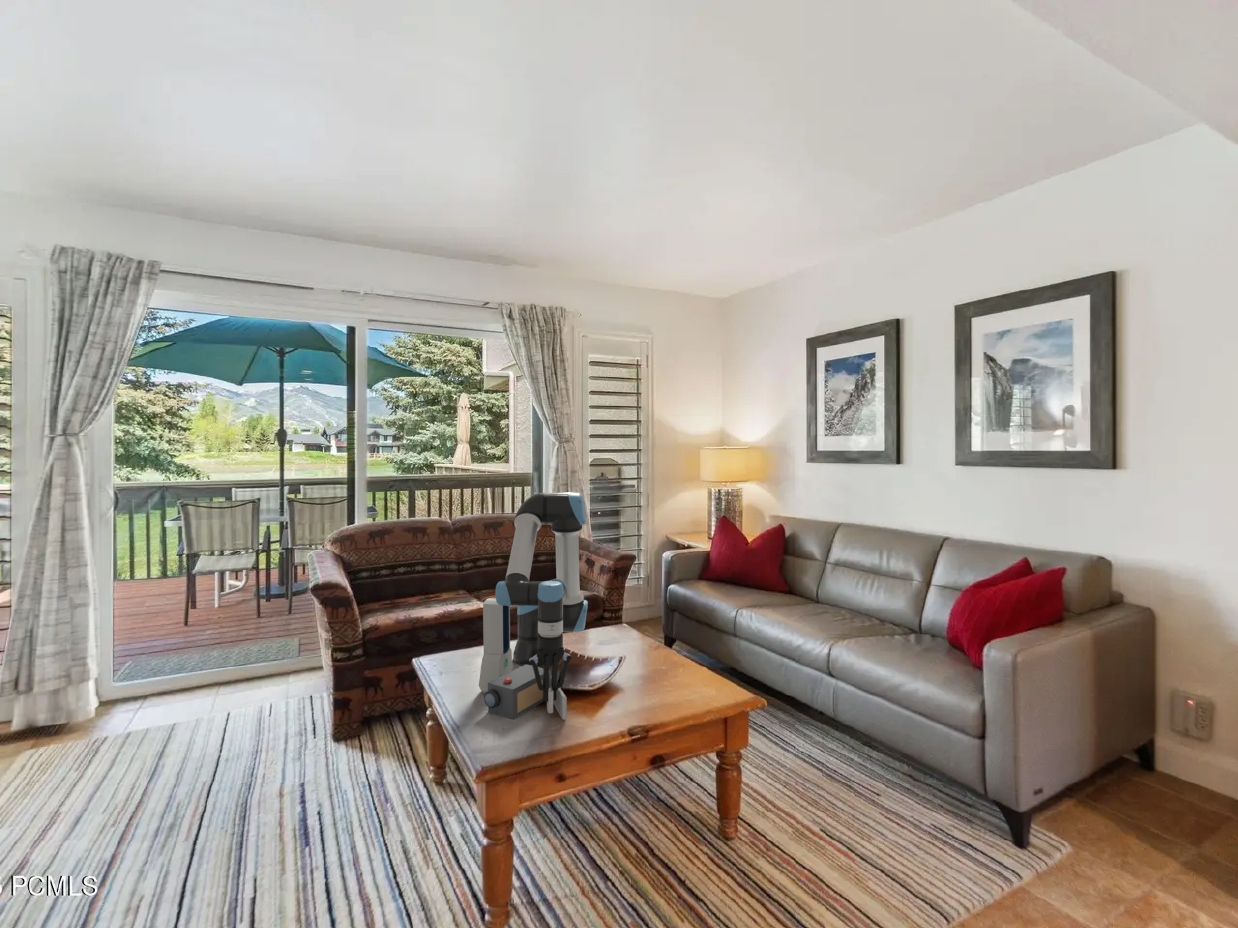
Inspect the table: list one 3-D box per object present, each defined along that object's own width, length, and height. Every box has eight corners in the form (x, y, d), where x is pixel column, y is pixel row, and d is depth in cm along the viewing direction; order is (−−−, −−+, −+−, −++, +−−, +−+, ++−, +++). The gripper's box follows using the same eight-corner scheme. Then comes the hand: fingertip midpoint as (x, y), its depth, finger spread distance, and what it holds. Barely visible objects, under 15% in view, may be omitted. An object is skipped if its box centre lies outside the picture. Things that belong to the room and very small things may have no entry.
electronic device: (499, 696, 198) (498, 604, 197) (478, 694, 199) (476, 603, 198) (513, 681, 210) (512, 595, 209) (493, 679, 211) (492, 594, 210)
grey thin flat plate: (548, 697, 196) (548, 675, 196) (554, 697, 197) (554, 674, 196) (561, 720, 180) (561, 695, 180) (567, 719, 181) (567, 695, 180)
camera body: (526, 690, 202) (525, 661, 201) (550, 697, 196) (550, 667, 196) (483, 713, 185) (483, 681, 184) (509, 721, 180) (508, 688, 179)
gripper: (531, 639, 177) (530, 719, 178) (574, 635, 181) (573, 713, 182) (526, 631, 184) (526, 708, 185) (568, 628, 188) (567, 703, 189)
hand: (550, 711), depth 183 cm, fingers closed
